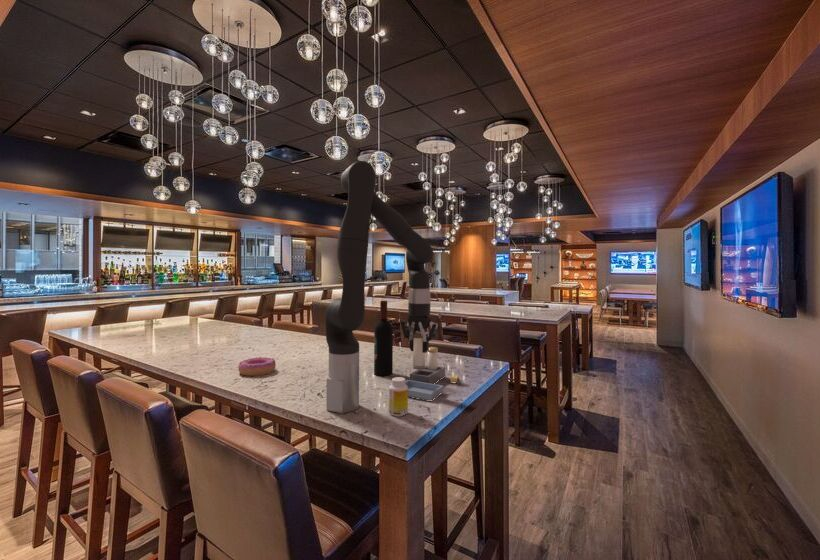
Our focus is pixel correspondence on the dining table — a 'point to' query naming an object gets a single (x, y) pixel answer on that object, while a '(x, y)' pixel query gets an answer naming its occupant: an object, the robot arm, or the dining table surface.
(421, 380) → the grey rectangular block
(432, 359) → the cylinder
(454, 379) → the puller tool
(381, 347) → the wine bottle
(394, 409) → the supplement bottle
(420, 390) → the parts tray
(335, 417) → the dining table surface
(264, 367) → the donut
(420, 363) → the cylinder
